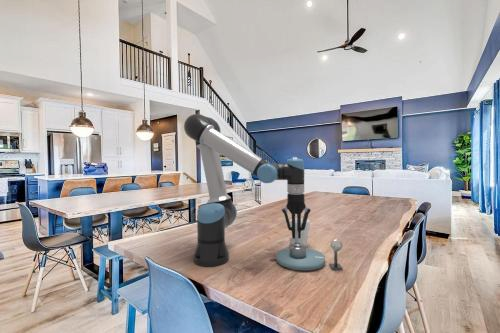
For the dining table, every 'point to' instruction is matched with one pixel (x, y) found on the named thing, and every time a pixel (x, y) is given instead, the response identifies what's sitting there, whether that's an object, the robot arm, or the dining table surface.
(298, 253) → the cover
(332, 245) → the dial stand
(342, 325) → the dining table surface
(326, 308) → the dining table surface
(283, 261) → the turntable
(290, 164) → the robot arm
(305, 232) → the foam cup
